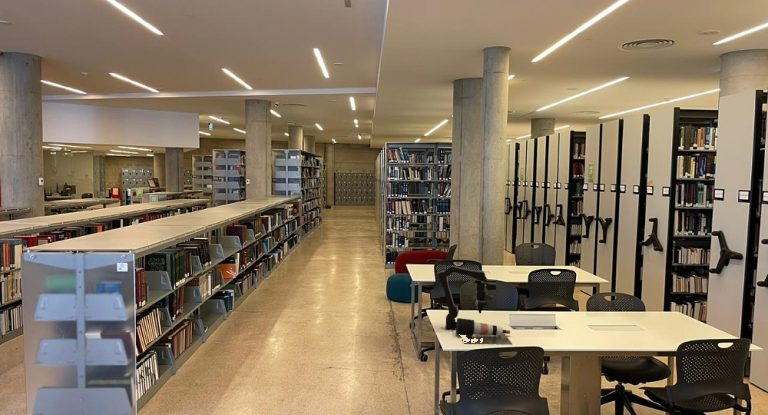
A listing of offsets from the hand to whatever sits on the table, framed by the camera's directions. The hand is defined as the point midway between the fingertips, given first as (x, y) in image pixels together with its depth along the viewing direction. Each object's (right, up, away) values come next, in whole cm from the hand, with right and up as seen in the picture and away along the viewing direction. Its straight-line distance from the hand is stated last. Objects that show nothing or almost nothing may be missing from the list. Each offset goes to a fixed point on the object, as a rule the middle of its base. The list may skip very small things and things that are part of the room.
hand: (480, 313), depth 357 cm
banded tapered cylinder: (0, -12, -11) cm, 17 cm away
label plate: (0, -13, -16) cm, 21 cm away
